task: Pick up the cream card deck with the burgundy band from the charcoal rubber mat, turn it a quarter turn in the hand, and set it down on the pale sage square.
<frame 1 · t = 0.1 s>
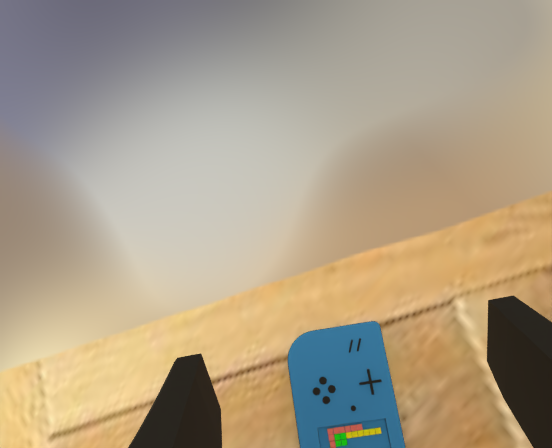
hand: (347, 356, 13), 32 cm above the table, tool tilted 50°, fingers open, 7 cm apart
handheld gaming device: (347, 419, 43), on the table
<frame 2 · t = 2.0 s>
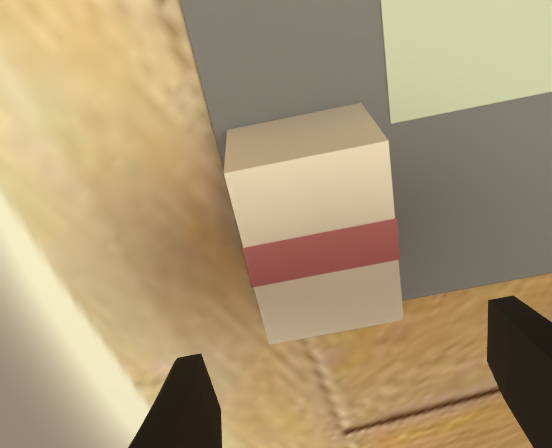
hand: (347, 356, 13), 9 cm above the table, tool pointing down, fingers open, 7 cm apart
card deck: (308, 199, 21), resting on mat
mat: (424, 72, 19), on the table
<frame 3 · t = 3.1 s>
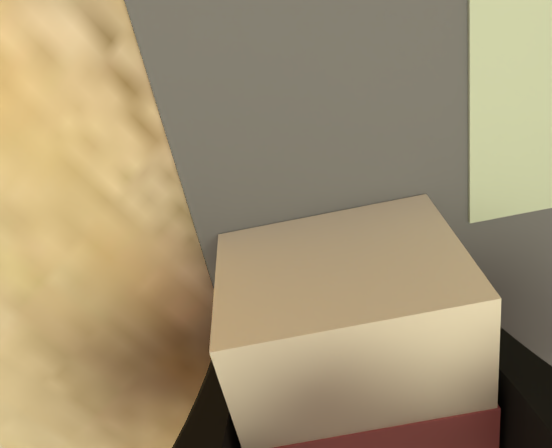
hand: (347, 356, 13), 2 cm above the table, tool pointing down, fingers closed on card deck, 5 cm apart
card deck: (339, 325, 14), resting on mat, touching gripper
mat: (525, 146, 12), on the table
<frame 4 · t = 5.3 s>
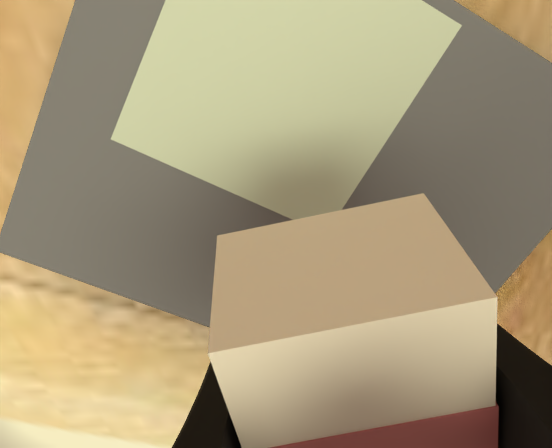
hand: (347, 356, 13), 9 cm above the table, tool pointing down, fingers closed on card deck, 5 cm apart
card deck: (339, 325, 14), point 8 cm above the table, touching gripper
mat: (310, 183, 20), on the table
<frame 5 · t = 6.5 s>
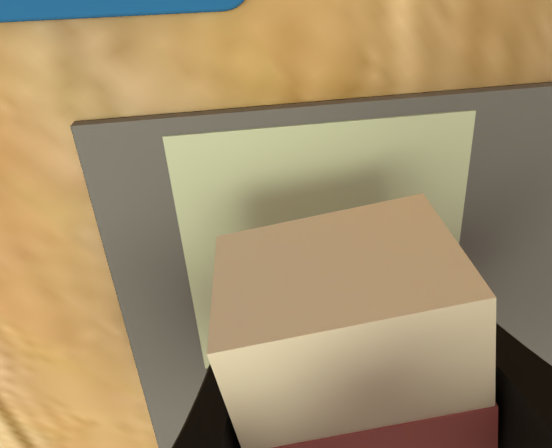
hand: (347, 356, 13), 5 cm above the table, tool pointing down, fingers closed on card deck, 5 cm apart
card deck: (339, 325, 14), point 4 cm above the table, touching gripper
mat: (404, 309, 19), on the table
when the fingers open (3 cm above the table, at t = 7.4 s): card deck drops 1 cm, resting on mat.
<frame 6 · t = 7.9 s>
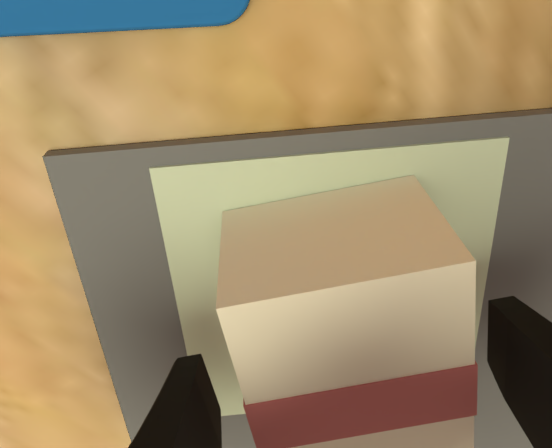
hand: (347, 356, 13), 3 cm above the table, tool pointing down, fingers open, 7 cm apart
card deck: (334, 299, 15), point 1 cm above the table, touching mat
mat: (422, 353, 17), on the table
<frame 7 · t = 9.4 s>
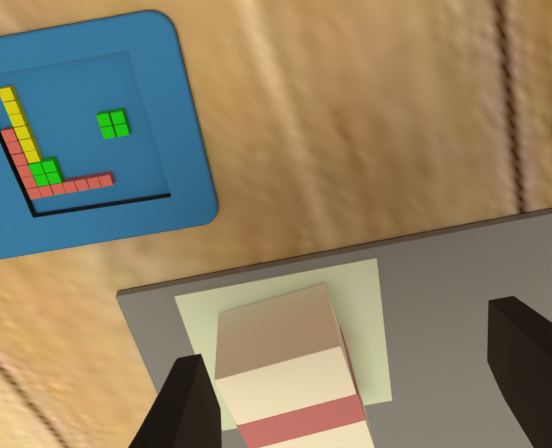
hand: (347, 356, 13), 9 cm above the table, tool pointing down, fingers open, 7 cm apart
card deck: (293, 353, 25), point 1 cm above the table, touching mat
handheld gaming device: (10, 150, 20), on the table
mat: (358, 378, 26), on the table
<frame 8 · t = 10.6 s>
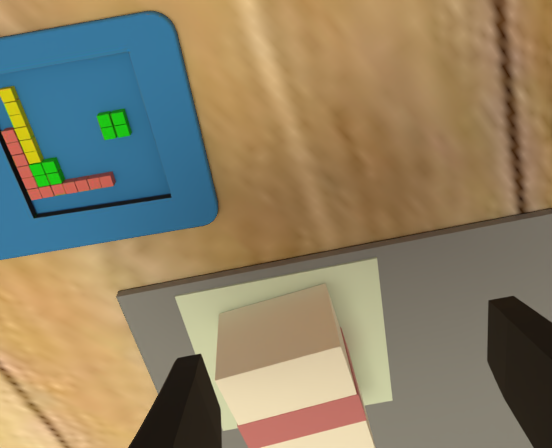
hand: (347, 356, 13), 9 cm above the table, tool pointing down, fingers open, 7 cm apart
card deck: (293, 353, 25), point 1 cm above the table, touching mat
handheld gaming device: (11, 151, 20), on the table
mat: (359, 378, 26), on the table
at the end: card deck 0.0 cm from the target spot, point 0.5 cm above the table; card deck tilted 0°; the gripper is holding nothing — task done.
